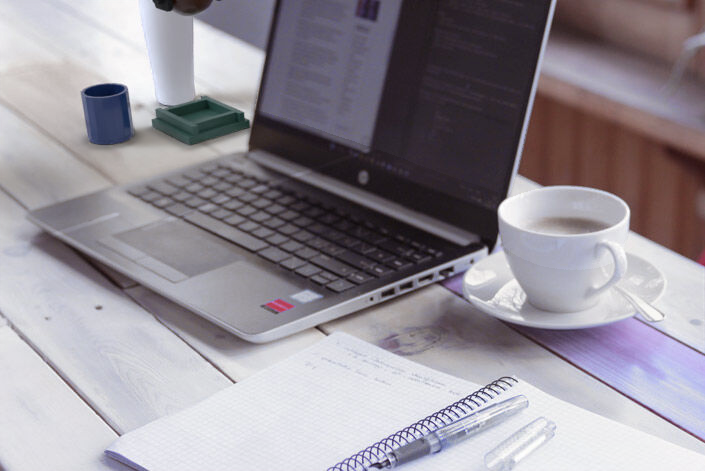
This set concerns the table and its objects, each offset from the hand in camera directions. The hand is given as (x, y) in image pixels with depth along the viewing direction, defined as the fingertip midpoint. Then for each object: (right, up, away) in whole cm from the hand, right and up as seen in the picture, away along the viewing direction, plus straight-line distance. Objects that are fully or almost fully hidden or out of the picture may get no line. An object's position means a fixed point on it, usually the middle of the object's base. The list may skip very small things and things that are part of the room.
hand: (189, 2), depth 114 cm
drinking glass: (-5, -10, +17) cm, 20 cm away
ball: (0, +2, -1) cm, 2 cm away
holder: (0, -14, +7) cm, 16 cm away
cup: (-11, -15, +5) cm, 19 cm away
